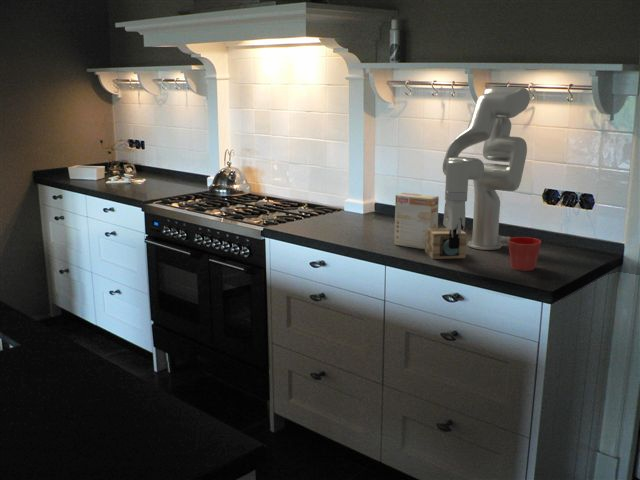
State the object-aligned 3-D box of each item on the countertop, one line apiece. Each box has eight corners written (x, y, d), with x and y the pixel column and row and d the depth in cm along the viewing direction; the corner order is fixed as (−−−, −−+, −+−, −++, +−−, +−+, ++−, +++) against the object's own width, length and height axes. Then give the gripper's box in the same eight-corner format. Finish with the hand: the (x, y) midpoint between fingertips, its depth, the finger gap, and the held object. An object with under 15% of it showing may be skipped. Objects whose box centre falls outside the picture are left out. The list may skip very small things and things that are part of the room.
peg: (458, 255, 251) (459, 239, 249) (443, 255, 250) (444, 240, 249) (449, 247, 261) (450, 232, 260) (434, 248, 260) (435, 233, 259)
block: (465, 258, 253) (466, 233, 251) (432, 258, 252) (433, 234, 250) (456, 251, 263) (457, 227, 261) (425, 252, 261) (426, 228, 259)
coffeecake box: (437, 246, 270) (439, 196, 265) (429, 250, 264) (431, 198, 260) (402, 241, 278) (403, 192, 274) (393, 245, 272) (395, 194, 268)
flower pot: (501, 269, 239) (503, 241, 237) (512, 262, 248) (514, 235, 246) (533, 274, 234) (535, 245, 231) (543, 266, 242) (545, 239, 240)
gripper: (439, 192, 250) (436, 243, 254) (452, 200, 236) (449, 253, 240) (459, 192, 251) (457, 242, 255) (474, 199, 237) (471, 253, 241)
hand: (453, 248), depth 248 cm, fingers closed
